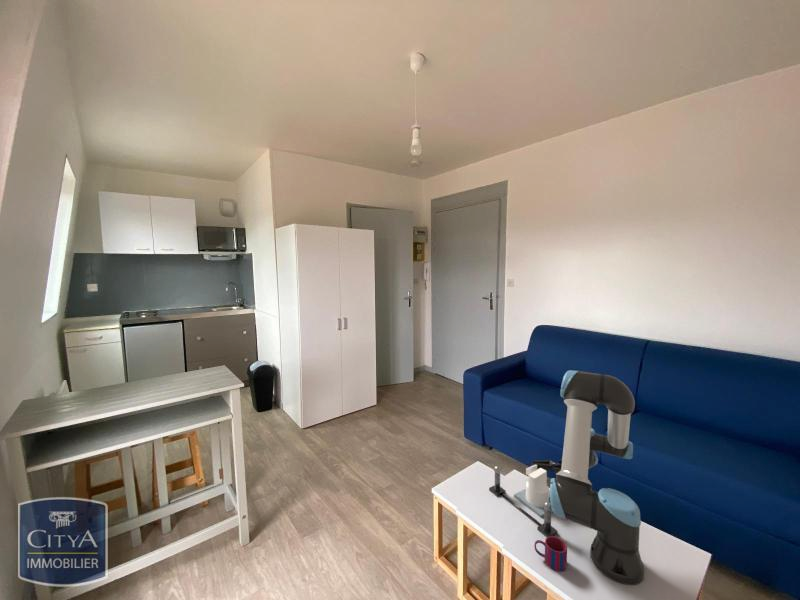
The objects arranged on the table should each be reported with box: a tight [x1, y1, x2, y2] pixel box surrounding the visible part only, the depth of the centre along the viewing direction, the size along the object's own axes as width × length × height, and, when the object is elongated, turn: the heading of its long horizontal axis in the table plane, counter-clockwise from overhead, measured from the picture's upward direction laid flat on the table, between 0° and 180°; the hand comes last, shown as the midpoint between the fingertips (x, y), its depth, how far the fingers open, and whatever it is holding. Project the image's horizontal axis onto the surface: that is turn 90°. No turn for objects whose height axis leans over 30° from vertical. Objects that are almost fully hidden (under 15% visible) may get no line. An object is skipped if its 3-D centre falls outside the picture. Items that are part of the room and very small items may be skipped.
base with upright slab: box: [525, 468, 550, 507], centre depth 140 cm, size 9×9×12 cm
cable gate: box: [488, 465, 558, 538], centre depth 135 cm, size 31×5×12 cm, turn 28°
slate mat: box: [513, 488, 553, 518], centre depth 140 cm, size 14×12×1 cm
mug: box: [534, 536, 568, 572], centre depth 112 cm, size 7×10×7 cm
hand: (539, 480), depth 140 cm, fingers open, 13 cm apart
